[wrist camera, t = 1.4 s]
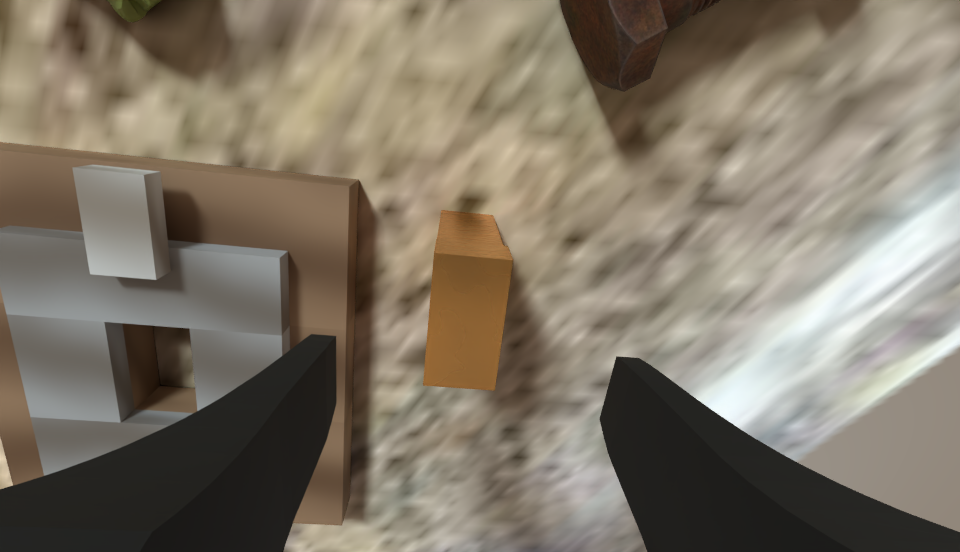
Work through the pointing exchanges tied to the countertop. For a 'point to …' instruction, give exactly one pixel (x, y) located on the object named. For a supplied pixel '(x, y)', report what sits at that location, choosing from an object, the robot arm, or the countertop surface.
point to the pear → (132, 8)
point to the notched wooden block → (467, 302)
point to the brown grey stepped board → (163, 298)
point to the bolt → (624, 35)
